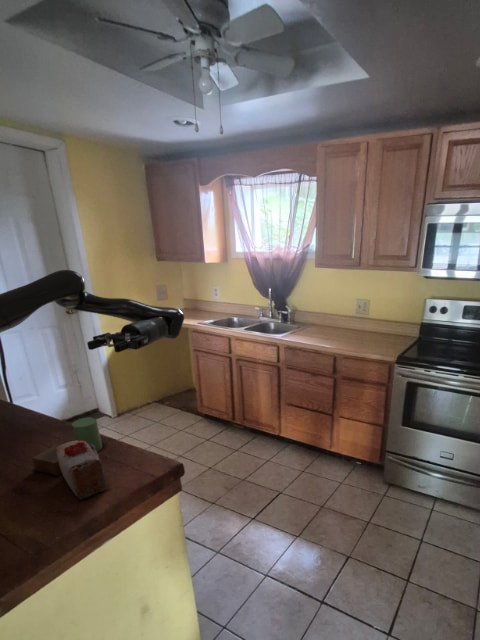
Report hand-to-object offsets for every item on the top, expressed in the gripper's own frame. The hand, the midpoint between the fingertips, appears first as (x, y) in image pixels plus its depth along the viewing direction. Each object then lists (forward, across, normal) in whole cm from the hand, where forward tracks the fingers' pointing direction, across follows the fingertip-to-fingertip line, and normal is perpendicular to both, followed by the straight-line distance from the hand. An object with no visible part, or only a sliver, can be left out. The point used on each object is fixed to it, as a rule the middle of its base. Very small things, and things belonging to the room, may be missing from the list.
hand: (102, 347), depth 99 cm
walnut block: (+20, -1, +25) cm, 32 cm away
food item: (+23, +10, +25) cm, 36 cm away
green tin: (+11, 0, +25) cm, 27 cm away
